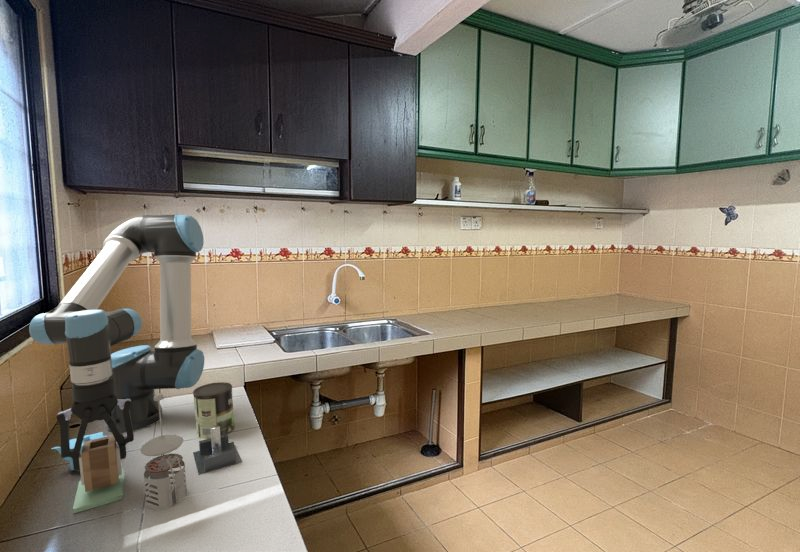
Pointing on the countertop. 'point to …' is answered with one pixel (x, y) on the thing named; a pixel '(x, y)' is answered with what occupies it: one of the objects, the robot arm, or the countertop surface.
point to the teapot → (72, 445)
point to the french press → (164, 468)
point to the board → (98, 495)
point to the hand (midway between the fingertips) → (102, 476)
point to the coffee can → (213, 408)
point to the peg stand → (215, 452)
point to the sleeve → (99, 463)
